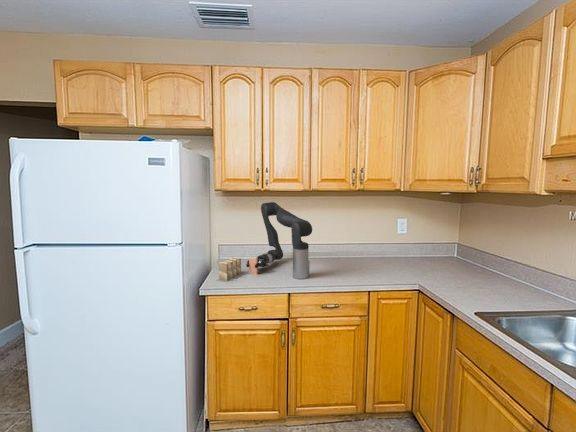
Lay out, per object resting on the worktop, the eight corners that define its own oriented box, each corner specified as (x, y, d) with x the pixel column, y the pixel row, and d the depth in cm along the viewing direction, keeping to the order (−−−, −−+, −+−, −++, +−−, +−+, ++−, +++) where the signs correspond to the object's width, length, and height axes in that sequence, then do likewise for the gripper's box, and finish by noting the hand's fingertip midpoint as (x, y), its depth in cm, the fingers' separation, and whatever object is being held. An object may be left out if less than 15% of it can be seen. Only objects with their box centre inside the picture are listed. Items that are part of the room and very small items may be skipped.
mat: (237, 271, 208) (237, 270, 208) (248, 272, 205) (248, 271, 204) (215, 281, 187) (215, 280, 187) (227, 283, 183) (227, 282, 183)
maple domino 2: (225, 277, 193) (225, 260, 192) (232, 278, 191) (232, 261, 190) (224, 278, 192) (223, 261, 191) (231, 279, 190) (231, 261, 189)
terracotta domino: (250, 273, 202) (250, 257, 201) (257, 274, 200) (257, 258, 199) (249, 274, 201) (249, 258, 200) (256, 275, 199) (256, 259, 198)
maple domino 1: (220, 279, 189) (220, 262, 188) (228, 280, 187) (228, 262, 186) (219, 280, 188) (218, 262, 187) (226, 281, 186) (226, 263, 185)
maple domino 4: (233, 273, 201) (233, 257, 200) (241, 274, 199) (240, 257, 198) (232, 274, 200) (232, 257, 199) (239, 275, 198) (239, 258, 197)
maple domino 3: (229, 275, 197) (229, 258, 196) (237, 276, 195) (236, 259, 194) (228, 275, 196) (228, 259, 195) (235, 276, 194) (235, 260, 193)
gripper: (254, 253, 215) (240, 258, 200) (274, 255, 210) (261, 260, 194) (254, 264, 216) (240, 270, 200) (274, 266, 210) (262, 273, 195)
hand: (251, 265), depth 197 cm, fingers closed on terracotta domino, 5 cm apart
